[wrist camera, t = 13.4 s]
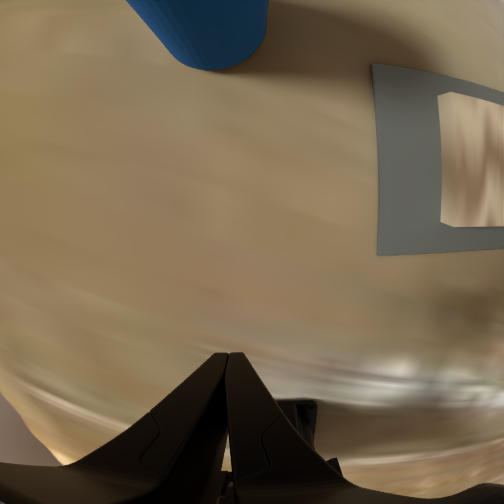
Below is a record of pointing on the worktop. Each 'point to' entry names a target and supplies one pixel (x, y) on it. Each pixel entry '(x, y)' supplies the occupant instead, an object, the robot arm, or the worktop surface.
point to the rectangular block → (471, 161)
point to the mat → (418, 164)
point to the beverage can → (206, 29)
